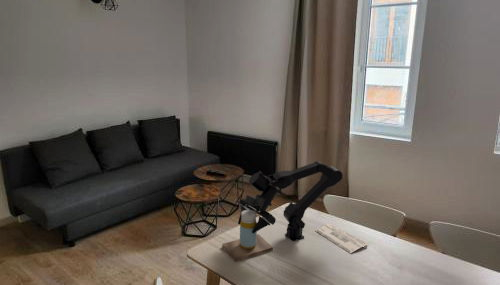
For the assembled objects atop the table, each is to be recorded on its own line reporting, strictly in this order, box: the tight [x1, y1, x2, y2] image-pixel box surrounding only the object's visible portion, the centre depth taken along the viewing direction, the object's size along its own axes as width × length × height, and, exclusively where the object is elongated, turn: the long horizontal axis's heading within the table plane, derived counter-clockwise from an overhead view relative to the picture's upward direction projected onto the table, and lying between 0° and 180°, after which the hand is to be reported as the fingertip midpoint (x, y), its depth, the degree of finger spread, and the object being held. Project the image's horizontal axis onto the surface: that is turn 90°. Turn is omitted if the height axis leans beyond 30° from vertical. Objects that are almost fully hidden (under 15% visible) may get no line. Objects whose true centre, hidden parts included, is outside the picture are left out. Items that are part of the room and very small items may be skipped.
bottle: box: [239, 210, 258, 249], centre depth 145 cm, size 7×7×15 cm
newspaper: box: [314, 223, 369, 255], centre depth 158 cm, size 23×12×2 cm, turn 33°
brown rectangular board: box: [221, 233, 274, 263], centre depth 147 cm, size 18×12×2 cm, turn 119°
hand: (245, 228), depth 144 cm, fingers open, 9 cm apart
